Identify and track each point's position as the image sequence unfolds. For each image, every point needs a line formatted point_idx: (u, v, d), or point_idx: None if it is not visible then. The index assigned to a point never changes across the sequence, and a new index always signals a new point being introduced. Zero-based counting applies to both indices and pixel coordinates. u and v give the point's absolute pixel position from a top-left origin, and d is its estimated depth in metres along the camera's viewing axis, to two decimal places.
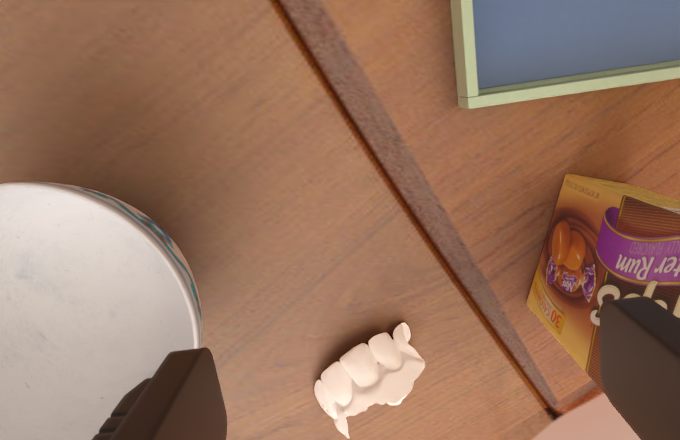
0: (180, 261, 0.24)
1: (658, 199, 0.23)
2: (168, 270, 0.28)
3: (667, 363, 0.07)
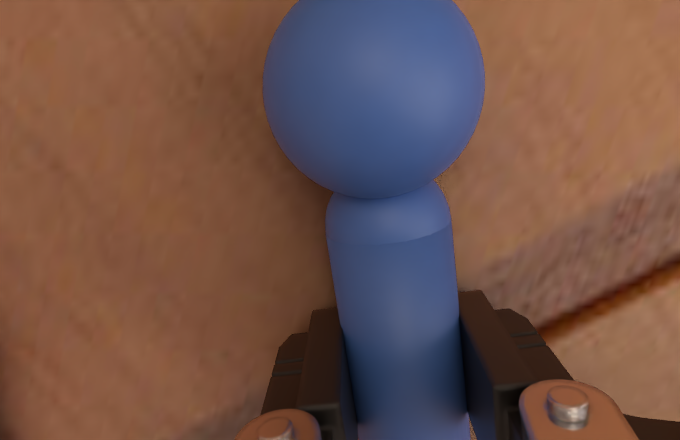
0: None
1: None
2: None
3: (468, 346, 0.09)
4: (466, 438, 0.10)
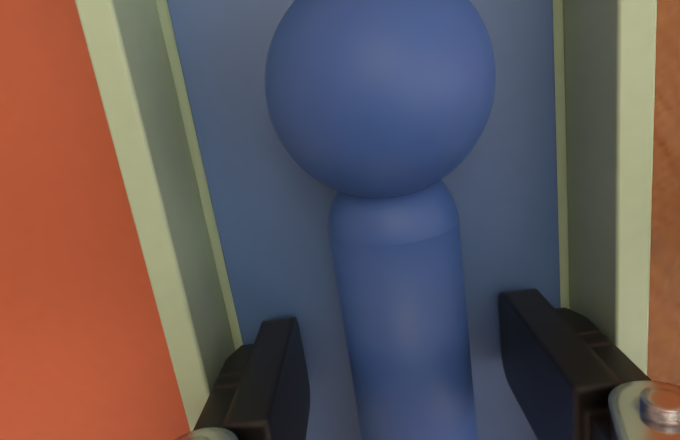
0: None
1: None
2: None
3: (533, 346, 0.08)
4: None
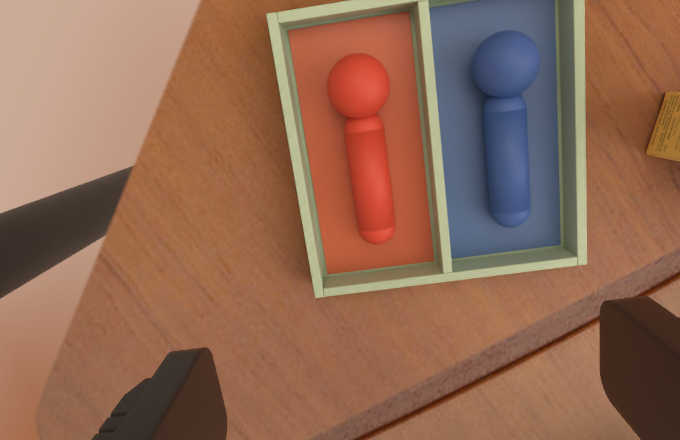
0: None
1: None
2: None
3: (667, 363, 0.07)
4: (529, 184, 0.29)
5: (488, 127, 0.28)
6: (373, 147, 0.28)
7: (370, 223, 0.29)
